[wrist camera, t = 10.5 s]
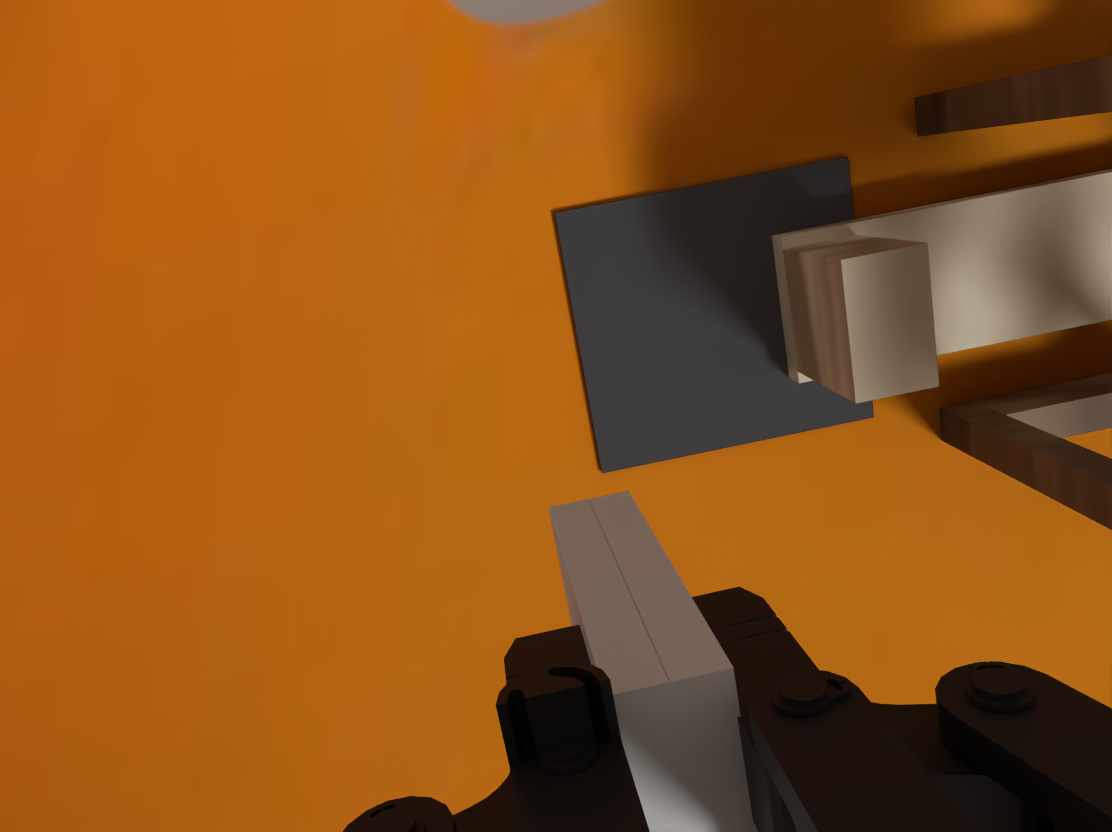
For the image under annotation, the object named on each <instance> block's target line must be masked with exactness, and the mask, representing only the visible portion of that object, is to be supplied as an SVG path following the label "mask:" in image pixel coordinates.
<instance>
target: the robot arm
mask: <svg viewBox="0 0 1112 832" xmlns="http://www.w3.org/2000/svg"><path fill="white" fill-rule="evenodd" d="M549 512H550V517H551V522H552V527H553V532H554V537H555V542H556V547H557V552H558V557H559V562H560V567H561V572H562V578H563V583H564V588H565V593H566V598H567V603H568V608H569V613H570V618H571V623H572V626H570V627H566V628H561V629H557V630H552V631H548V632H543V633H539V634H534V635H530V636H525V637H520V638H516V639H515V640H514V642H513V644H512V646H511V647H510V649H509V651H508V652H507V654H506V656H505V657H504V663H505V673H506V680H507V681H506V683H507V684H506V686H505V687H504V688H503V689H502V690H501V691H500V692H499V695H498V699H497V703H496V708H497V712H498V717H499V721H500V726H501V730H502V735H503V739H504V743H505V748H506V752H507V757H508V761H509V766H510V773H509V775H508V777H507V778H506V779H505V781H504V782H503V783H502V784H501V786H500V787H499V788H498V789H497V790H495V791H494V792H493V793H492V794H491V795H489V796H488V797H487V798H485V799H484V800H482V801H480V802H478V803H477V804H475V805H473V806H471V807H470V808H467V809H465V810H463V811H461V812H459V813H457V814H455V815H452V814H451V812H450V810H449V809H448V807H447V806H446V805H445V804H443V803H441V802H439V801H437V800H435V799H433V798H431V797H416V796H409V797H404V798H399V799H394V800H389V801H387V802H384V803H382V804H380V805H377V806H375V807H373V808H371V809H369V810H367V811H365V812H364V813H363V814H361V815H360V816H359V817H357V818H356V819H355V820H354V821H352V822H351V823H350V824H348V825H347V827H346V828H345V829H344V831H343V832H1112V709H1111V708H1110V707H1108V706H1106V705H1104V704H1102V703H1100V702H1098V701H1096V700H1094V699H1092V698H1090V697H1089V696H1087V695H1085V694H1083V693H1081V692H1079V691H1077V690H1075V689H1073V688H1071V687H1070V686H1068V685H1066V684H1064V683H1062V682H1060V681H1058V680H1056V679H1054V678H1052V677H1050V676H1049V675H1047V674H1044V673H1042V672H1039V671H1036V670H1034V669H1031V668H1029V667H1026V666H1022V665H1016V664H1010V663H1004V662H992V661H989V662H978V663H973V664H969V665H965V666H961V667H957V668H954V669H953V670H951V671H950V672H948V673H947V674H945V675H943V676H942V677H941V678H940V680H939V682H938V684H937V686H936V688H935V692H936V703H937V704H914V705H892V704H878V703H873V702H870V701H869V699H868V698H867V697H866V696H865V695H864V693H863V692H862V691H861V690H860V689H859V687H857V686H856V685H855V684H853V683H852V682H851V681H850V680H848V679H847V678H846V677H843V676H840V675H837V674H834V673H831V672H828V671H820V670H819V669H818V668H817V667H816V665H815V664H814V663H813V662H812V660H811V659H810V658H809V656H808V655H807V654H806V653H805V651H804V650H803V649H802V647H801V646H800V645H799V644H798V642H797V641H796V640H795V638H794V637H793V636H792V634H791V633H790V632H789V631H788V632H787V629H786V627H785V625H784V624H783V623H782V622H781V620H780V619H779V618H777V617H776V614H775V613H774V611H773V610H772V609H771V607H770V606H769V605H768V604H767V602H766V601H765V600H764V598H762V597H760V596H758V595H756V594H754V593H751V592H749V591H747V590H745V589H743V588H741V587H736V588H731V589H727V590H722V591H718V592H713V593H709V594H704V595H700V596H695V597H691V595H690V594H689V592H688V590H687V589H686V587H685V585H684V584H683V582H682V580H681V579H680V577H679V575H678V574H677V572H676V570H675V568H674V567H673V565H672V563H671V562H670V560H669V558H668V557H667V555H666V553H665V552H664V550H663V548H662V547H661V545H660V543H659V542H658V540H657V538H656V537H655V535H654V533H653V532H652V530H651V528H650V526H649V525H648V523H647V521H646V520H645V518H644V516H643V515H642V513H641V511H640V510H639V508H638V506H637V505H636V503H635V501H634V500H633V498H632V496H631V495H630V493H629V491H625V492H620V493H615V494H610V495H606V496H601V497H596V498H592V499H587V500H582V501H577V502H573V503H568V504H563V505H559V506H554V507H549Z"/></svg>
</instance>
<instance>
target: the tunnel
mask: <svg viewBox="0 0 1112 832" xmlns="http://www.w3.org/2000/svg"><path fill="white" fill-rule="evenodd" d="M915 107H916V120H917V132H918V136H924V135H932V134H940V133H948V132H956V131H964V130H971V129H979V128H987V127H995V126H1003V125H1011V124H1018V123H1026V122H1034V121H1042V120H1050V119H1058V118H1065V117H1073V116H1081V115H1089V114H1097V113H1105V112H1112V55H1110V56H1106V57H1101V58H1096V59H1092V60H1087V61H1083V62H1078V63H1073V64H1069V65H1064V66H1059V67H1055V68H1050V69H1045V70H1041V71H1036V72H1032V73H1027V74H1022V75H1018V76H1013V77H1008V78H1004V79H999V80H994V81H990V82H985V83H981V84H976V85H971V86H967V87H962V88H957V89H953V90H948V91H943V92H939V93H934V94H930V95H925V96H920V97H916V98H915ZM940 420H941V432H942V441H944V442H946V443H948V444H949V445H951V446H953V447H955V448H957V449H959V450H961V451H963V452H965V453H967V454H968V455H970V456H972V457H974V458H976V459H978V460H980V461H982V462H984V463H986V464H987V465H989V466H991V467H993V468H995V469H997V470H999V471H1001V472H1003V473H1005V474H1006V475H1008V476H1010V477H1012V478H1014V479H1016V480H1018V481H1020V482H1022V483H1024V484H1025V485H1027V486H1029V487H1031V488H1033V489H1035V490H1037V491H1039V492H1041V493H1043V494H1044V495H1046V496H1048V497H1050V498H1052V499H1054V500H1056V501H1058V502H1060V503H1062V504H1063V505H1065V506H1067V507H1069V508H1071V509H1073V510H1075V511H1077V512H1079V513H1081V514H1082V515H1084V516H1086V517H1088V518H1090V519H1092V520H1094V521H1096V522H1098V523H1100V524H1101V525H1103V526H1105V527H1107V528H1109V529H1111V530H1112V459H1110V458H1108V457H1106V456H1103V455H1101V454H1098V453H1096V452H1093V451H1091V450H1089V449H1086V448H1084V447H1081V446H1079V445H1077V444H1074V443H1072V442H1069V441H1067V440H1065V439H1062V438H1064V437H1069V436H1074V435H1079V434H1084V433H1088V432H1093V431H1098V430H1103V429H1107V428H1112V373H1107V374H1103V375H1098V376H1093V377H1088V378H1083V379H1078V380H1074V381H1069V382H1064V383H1059V384H1054V385H1049V386H1044V387H1040V388H1035V389H1030V390H1025V391H1020V392H1015V393H1011V394H1006V395H1001V396H996V397H991V398H986V399H981V400H977V401H972V402H967V403H962V404H957V405H952V406H948V407H943V408H940Z"/></svg>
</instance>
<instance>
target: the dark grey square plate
mask: <svg viewBox="0 0 1112 832" xmlns="http://www.w3.org/2000/svg"><path fill="white" fill-rule="evenodd" d="M555 218H556V223H557V229H558V234H559V240H560V245H561V251H562V256H563V262H564V267H565V273H566V278H567V284H568V289H569V295H570V300H571V306H572V311H573V317H574V322H575V328H576V333H577V339H578V344H579V350H580V355H581V361H582V366H583V372H584V377H585V383H586V388H587V394H588V400H589V405H590V411H591V416H592V422H593V427H594V433H595V438H596V444H597V449H598V455H599V460H600V466H601V471H602V473H606V472H611V471H615V470H620V469H625V468H630V467H635V466H640V465H645V464H649V463H654V462H659V461H664V460H669V459H674V458H679V457H683V456H688V455H693V454H698V453H703V452H708V451H712V450H717V449H722V448H727V447H732V446H737V445H742V444H746V443H751V442H756V441H761V440H766V439H771V438H776V437H780V436H785V435H790V434H795V433H800V432H805V431H810V430H814V429H819V428H824V427H829V426H834V425H839V424H843V423H848V422H853V421H858V420H863V419H868V418H873V417H874V412H873V402H872V400H871V401H866V402H861V403H854V402H852V401H850V400H849V399H847V398H845V397H843V396H841V395H839V394H838V393H836V392H834V391H832V390H830V389H828V388H827V387H825V386H823V385H821V384H819V383H817V382H816V381H814V380H813V381H809V382H804V383H797V382H796V381H794V380H792V379H791V378H789V372H788V364H787V356H786V348H785V340H784V331H783V323H782V315H781V307H780V299H779V291H778V282H777V274H776V266H775V258H774V250H773V242H772V235H777V234H782V233H787V232H792V231H797V230H802V229H807V228H812V227H817V226H822V225H828V224H833V223H838V222H843V221H848V220H853V219H854V211H853V201H852V190H851V180H850V170H849V160H848V156H847V157H842V158H837V159H831V160H826V161H821V162H816V163H811V164H806V165H800V166H795V167H790V168H785V169H780V170H775V171H769V172H764V173H759V174H754V175H749V176H744V177H738V178H733V179H728V180H723V181H718V182H712V183H707V184H702V185H697V186H692V187H687V188H681V189H676V190H671V191H666V192H661V193H656V194H650V195H645V196H640V197H635V198H630V199H625V200H619V201H614V202H609V203H604V204H599V205H594V206H588V207H583V208H578V209H573V210H568V211H562V212H557V213H555Z"/></svg>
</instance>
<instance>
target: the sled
mask: <svg viewBox="0 0 1112 832" xmlns="http://www.w3.org/2000/svg"><path fill="white" fill-rule="evenodd" d="M772 242H773V250H774V258H775V266H776V274H777V282H778V291H779V299H780V307H781V315H782V323H783V331H784V340H785V348H786V356H787V364H788V372H789V378H791V379H792V380H794V381H796V382H797V383H804V382H809V381H813V380H814V381H816V382H817V383H819V384H821V385H823V386H825V387H827V388H828V389H830V390H832V391H834V392H836V393H838V394H839V395H841V396H843V397H845V398H847V399H849V400H850V401H852V402H854V403H861V402H866V401H871V400H876V399H881V398H885V397H890V396H895V395H900V394H905V393H910V392H915V391H920V390H924V389H929V388H934V387H939V377H938V365H937V355H941V354H946V353H951V352H956V351H961V350H966V349H970V348H975V347H980V346H985V345H990V344H995V343H1000V342H1005V341H1010V340H1015V339H1020V338H1024V337H1029V336H1034V335H1039V334H1044V333H1049V332H1054V331H1059V330H1064V329H1069V328H1074V327H1078V326H1083V325H1088V324H1093V323H1098V322H1103V321H1108V320H1112V169H1108V170H1102V171H1097V172H1092V173H1087V174H1082V175H1077V176H1072V177H1067V178H1062V179H1057V180H1052V181H1046V182H1041V183H1036V184H1031V185H1026V186H1021V187H1016V188H1011V189H1006V190H1001V191H996V192H990V193H985V194H980V195H975V196H970V197H965V198H960V199H955V200H950V201H945V202H940V203H934V204H929V205H924V206H919V207H914V208H909V209H904V210H899V211H894V212H889V213H884V214H878V215H873V216H868V217H863V218H858V219H853V220H848V221H843V222H838V223H833V224H828V225H822V226H817V227H812V228H807V229H802V230H797V231H792V232H787V233H782V234H777V235H772Z"/></svg>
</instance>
